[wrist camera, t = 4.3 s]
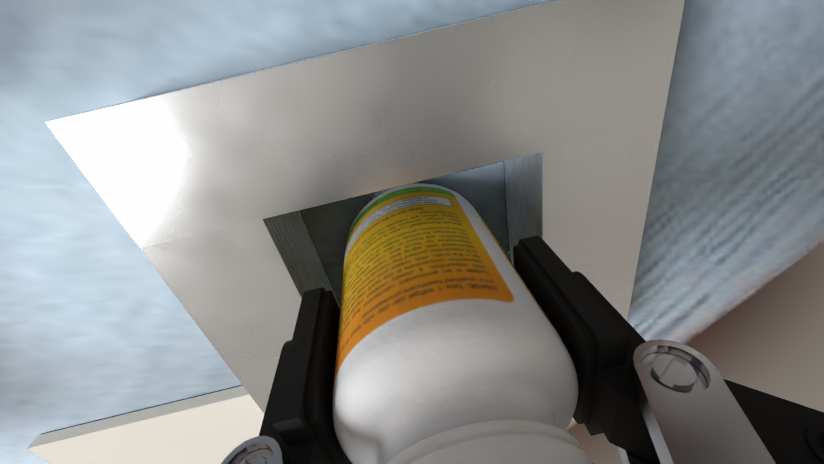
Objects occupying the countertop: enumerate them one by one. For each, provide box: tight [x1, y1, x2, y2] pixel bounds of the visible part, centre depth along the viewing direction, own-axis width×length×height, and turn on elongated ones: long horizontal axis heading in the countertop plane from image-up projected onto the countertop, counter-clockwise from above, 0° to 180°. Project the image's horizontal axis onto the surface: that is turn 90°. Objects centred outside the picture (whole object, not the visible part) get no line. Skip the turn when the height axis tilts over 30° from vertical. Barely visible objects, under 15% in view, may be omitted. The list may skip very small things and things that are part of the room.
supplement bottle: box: [333, 183, 594, 464], centre depth 9 cm, size 5×5×10 cm
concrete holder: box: [46, 0, 685, 414], centre depth 12 cm, size 14×14×3 cm
